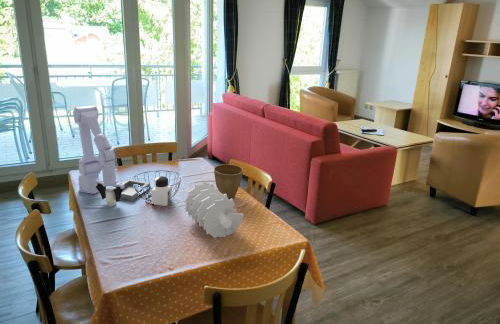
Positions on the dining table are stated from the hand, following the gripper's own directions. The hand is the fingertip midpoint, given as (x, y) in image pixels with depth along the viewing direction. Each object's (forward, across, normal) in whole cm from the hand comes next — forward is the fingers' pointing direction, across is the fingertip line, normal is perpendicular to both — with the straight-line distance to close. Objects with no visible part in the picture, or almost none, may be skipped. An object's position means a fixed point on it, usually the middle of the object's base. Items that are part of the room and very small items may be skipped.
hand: (111, 199), depth 181 cm
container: (+3, +21, +11) cm, 24 cm away
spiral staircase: (+3, +53, -3) cm, 53 cm away
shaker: (+2, 0, 0) cm, 2 cm away
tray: (+2, +1, +15) cm, 15 cm away
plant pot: (+3, +50, +28) cm, 57 cm away
